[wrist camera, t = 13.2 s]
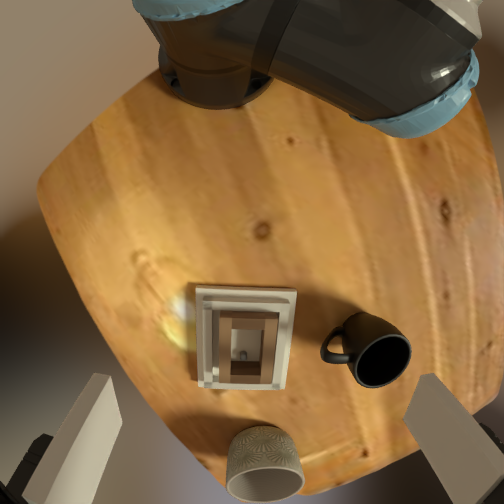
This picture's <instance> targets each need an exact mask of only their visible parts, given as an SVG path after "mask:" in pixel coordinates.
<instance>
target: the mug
mask: <svg viewBox="0 0 504 504" xmlns="http://www.w3.org/2000/svg"><path fill="white" fill-rule="evenodd" d="M335 337H342V347H343V352H344V354H338V353H332V352H330V351H329V350H328V349H327V346H328V344H329V343H330V341H331V340H332V339H333V338H335ZM411 352H412V351H411V345H410V342H409V340H408V339H407V338H406V337H405V336H404V335H403V334H402V333H401V332H400V331H399V330H398V329H397V328H396V327H395V326H393V325H392V324H391V323H389V322H387V321H385V320H384V319H382V318H379V317H377V316H374V315H371V314H368V313H365V312H360V313H356V314H354V315H352V316H351V317H349V318H348V319H347V320H346V321H345V323H344V325H343V327H336V328H334V329H333V330H332V331H331V332H330V334H329V335H328V337H327V338H326V339H325V341H324V342H323V344H322V346H321V350H320V354H321V358H322V360H323V361H325V362H327V363H331V364H347V365H348V367H349V369H350V371H351V373H352V375H353V376H354V378H355V380H356V381H357V383H359V384H360V385H361V386H364V387H366V388H379V387H382V386H385V385H387V384H389V383H391V382H393V381H394V380H396V379H397V378H398V377H399V376H400V375H401V374H402V373H403V372H404V370H405V369H406V367H407V366H408V364H409V361H410V358H411Z"/></svg>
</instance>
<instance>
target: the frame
mask: <svg viewBox="0 0 504 504" xmlns="http://www.w3.org/2000/svg"><path fill="white" fill-rule="evenodd" d="M277 324H278V317H277V314H276V312H252V311H225V310H220V317H219V383H228V384H271V381H272V372H273V363H274V354H275V344H276V334H277ZM232 329H245V330H262V331H261V344H260V356H259V361H231V334H232Z"/></svg>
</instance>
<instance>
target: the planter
mask: <svg viewBox="0 0 504 504" xmlns="http://www.w3.org/2000/svg"><path fill="white" fill-rule="evenodd" d="M304 483H305V478H304V474H303V470H302V467H301V463H300V459H299V456H298V453H297V449H296V447H295V444H294V442H293V440H292V438H291V437H290V436H289V435H288V434H287V433H286V432H285V431H283V430H281V429H279V428H276V427H271V426H256V427H252V428H248V429H246V430H243V431H242V432H240V433H239V434H237V435H236V436H235V437H234V439H233V440H232V442H231V444H230V447H229V451H228V458H227V471H226V490H227V492H228V493H229V494H230V495H231V496H233V497H234V498H236V499H239V500H242V501H245V502H251V503H270V502H276V501H280V500H283V499H286V498H288V497H291V496H293V495H294V494H296V493H297V492H299V491H300V490H301V489H302V487H303V486H304Z"/></svg>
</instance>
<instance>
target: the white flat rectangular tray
mask: <svg viewBox="0 0 504 504" xmlns="http://www.w3.org/2000/svg"><path fill="white" fill-rule="evenodd" d="M296 297H297V291H296V289H289V288H256V287H230V286H208V285H197V286H196V341H197V370H198V387H204V388H213V389H238V390H280V389H285V383H286V376H287V369H288V362H289V354H290V347H291V339H292V331H293V323H294V314H295V306H296ZM220 310H225V311H252V312H276V314H277V317H278V324H277V334H276V344H275V354H274V363H273V372H272V381H271V384H228V383H219V317H220ZM261 331H262V330H245V329H232V334H231V361H259V356H260V344H261Z"/></svg>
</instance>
